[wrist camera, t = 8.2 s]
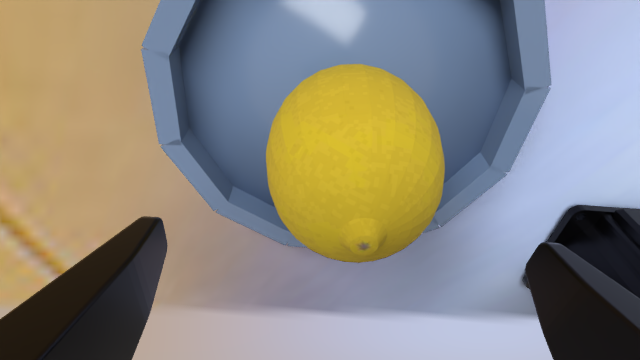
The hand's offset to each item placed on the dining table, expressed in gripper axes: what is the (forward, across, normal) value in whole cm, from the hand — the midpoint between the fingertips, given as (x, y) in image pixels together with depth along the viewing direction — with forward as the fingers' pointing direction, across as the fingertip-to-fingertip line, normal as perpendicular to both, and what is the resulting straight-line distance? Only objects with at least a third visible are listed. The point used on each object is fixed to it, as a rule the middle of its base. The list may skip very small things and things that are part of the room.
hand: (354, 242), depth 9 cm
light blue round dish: (+9, 0, 0) cm, 9 cm away
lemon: (+8, 0, 0) cm, 8 cm away
